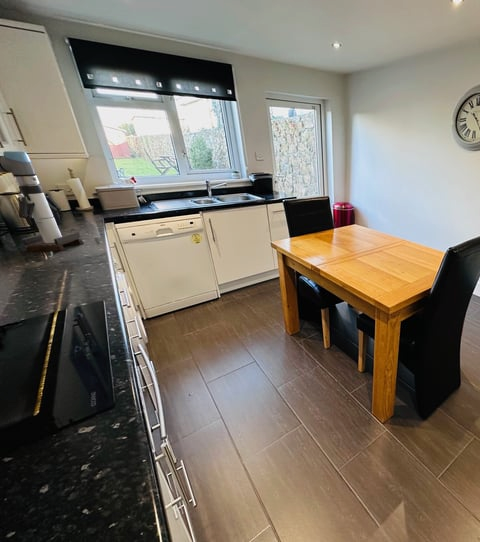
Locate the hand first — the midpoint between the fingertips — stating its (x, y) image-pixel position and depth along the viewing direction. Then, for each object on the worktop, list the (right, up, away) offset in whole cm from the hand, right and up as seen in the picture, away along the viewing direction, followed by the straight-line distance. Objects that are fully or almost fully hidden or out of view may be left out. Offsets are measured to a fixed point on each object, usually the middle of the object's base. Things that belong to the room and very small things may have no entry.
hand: (47, 227), depth 147 cm
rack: (0, -11, +5) cm, 11 cm away
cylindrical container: (0, -7, +3) cm, 8 cm away
